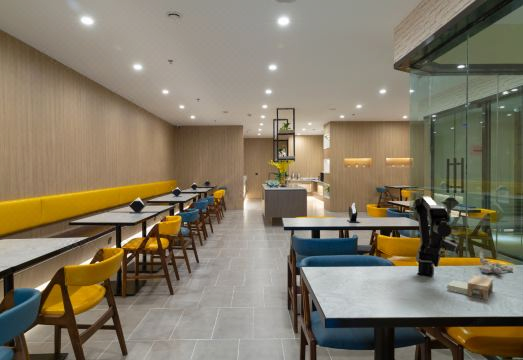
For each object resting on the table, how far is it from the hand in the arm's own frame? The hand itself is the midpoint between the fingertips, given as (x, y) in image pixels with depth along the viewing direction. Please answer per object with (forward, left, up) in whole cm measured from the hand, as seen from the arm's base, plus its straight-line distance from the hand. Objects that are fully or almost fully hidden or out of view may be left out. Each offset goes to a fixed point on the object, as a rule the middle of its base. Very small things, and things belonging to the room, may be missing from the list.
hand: (436, 266), depth 154 cm
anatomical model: (+15, +49, -9) cm, 52 cm away
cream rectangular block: (+12, 0, -9) cm, 15 cm away
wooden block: (+17, 0, -8) cm, 19 cm away
